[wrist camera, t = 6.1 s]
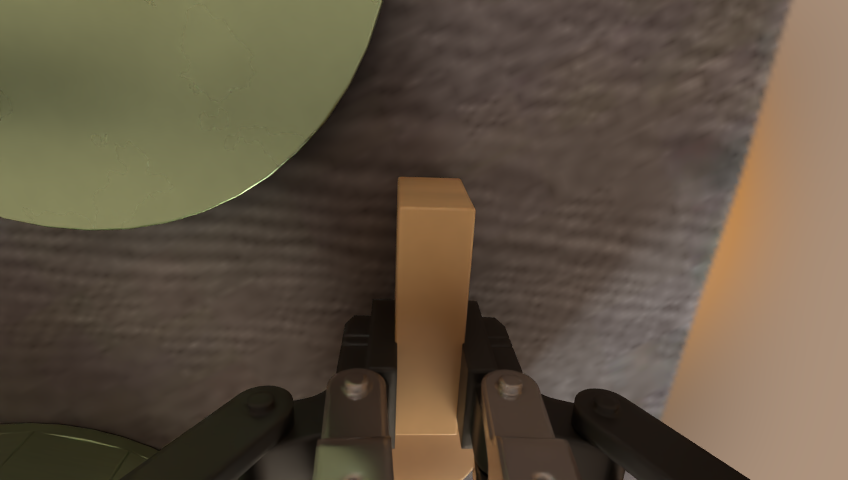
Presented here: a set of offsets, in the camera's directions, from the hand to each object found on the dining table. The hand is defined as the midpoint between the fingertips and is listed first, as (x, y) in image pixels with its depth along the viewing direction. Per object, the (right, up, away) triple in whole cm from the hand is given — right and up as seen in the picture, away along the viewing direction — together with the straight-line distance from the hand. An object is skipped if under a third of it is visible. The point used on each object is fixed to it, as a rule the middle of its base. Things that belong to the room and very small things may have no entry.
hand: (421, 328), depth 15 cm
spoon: (0, 0, 0) cm, 1 cm away
